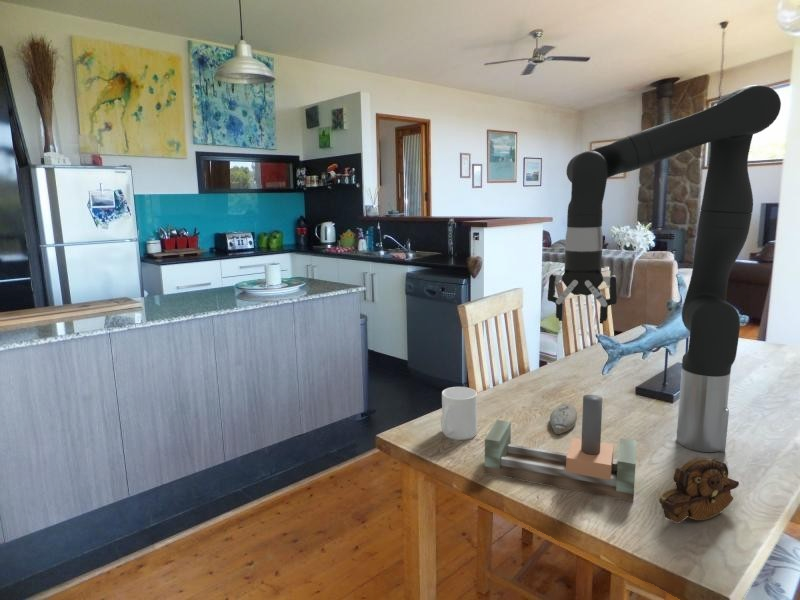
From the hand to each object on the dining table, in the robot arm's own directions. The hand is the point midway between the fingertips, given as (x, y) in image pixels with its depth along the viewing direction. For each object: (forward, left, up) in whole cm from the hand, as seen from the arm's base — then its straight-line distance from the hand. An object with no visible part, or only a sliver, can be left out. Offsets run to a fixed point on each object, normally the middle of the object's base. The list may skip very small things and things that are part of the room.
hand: (580, 321), depth 116 cm
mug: (+27, +8, -28) cm, 40 cm away
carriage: (-4, +17, -25) cm, 30 cm away
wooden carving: (-23, +23, -28) cm, 43 cm away
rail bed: (+2, +17, -28) cm, 33 cm away
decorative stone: (+4, -8, -28) cm, 30 cm away
